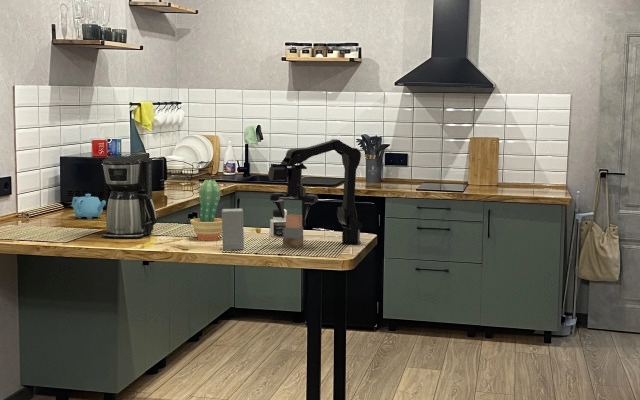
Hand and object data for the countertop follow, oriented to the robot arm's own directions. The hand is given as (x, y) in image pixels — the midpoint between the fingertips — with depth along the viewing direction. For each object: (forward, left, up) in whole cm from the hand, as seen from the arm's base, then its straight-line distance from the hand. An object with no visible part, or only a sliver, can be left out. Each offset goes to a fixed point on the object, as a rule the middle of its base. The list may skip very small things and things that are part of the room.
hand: (293, 219), depth 349 cm
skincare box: (+20, +15, -11) cm, 27 cm away
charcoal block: (0, 0, -7) cm, 7 cm away
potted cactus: (+40, -4, -11) cm, 42 cm away
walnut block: (0, 0, -11) cm, 11 cm away
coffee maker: (+74, -3, -12) cm, 75 cm away
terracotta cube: (0, 0, -3) cm, 3 cm away
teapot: (+122, -40, -12) cm, 129 cm away
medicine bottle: (+15, -23, -11) cm, 30 cm away
